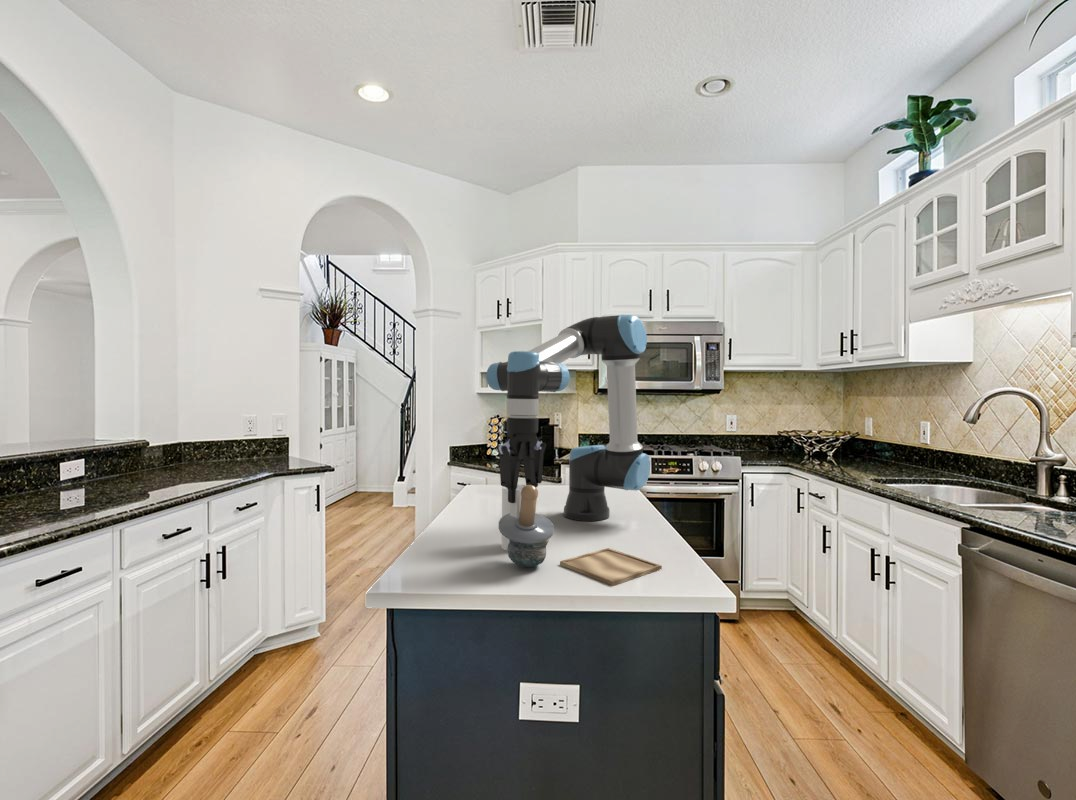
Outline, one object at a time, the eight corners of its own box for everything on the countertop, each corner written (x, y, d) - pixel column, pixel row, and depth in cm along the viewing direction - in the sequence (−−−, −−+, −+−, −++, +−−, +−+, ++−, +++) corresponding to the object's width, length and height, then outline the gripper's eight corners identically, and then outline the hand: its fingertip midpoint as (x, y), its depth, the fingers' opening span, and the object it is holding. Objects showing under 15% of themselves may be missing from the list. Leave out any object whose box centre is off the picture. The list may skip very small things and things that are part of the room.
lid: (531, 510, 136) (535, 470, 133) (564, 534, 127) (569, 491, 124) (487, 522, 129) (491, 479, 125) (519, 549, 119) (524, 503, 116)
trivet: (608, 551, 141) (608, 548, 141) (661, 569, 128) (661, 565, 128) (560, 564, 130) (560, 561, 130) (612, 585, 117) (613, 581, 117)
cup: (528, 553, 139) (529, 491, 138) (498, 550, 140) (498, 489, 140) (535, 543, 147) (536, 485, 146) (506, 541, 148) (506, 483, 148)
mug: (518, 572, 121) (523, 528, 122) (491, 556, 132) (496, 515, 132) (552, 570, 127) (558, 527, 127) (524, 554, 137) (529, 515, 137)
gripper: (538, 415, 136) (537, 507, 137) (485, 416, 126) (483, 516, 126) (558, 416, 130) (557, 513, 131) (504, 418, 120) (502, 523, 121)
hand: (521, 514), depth 129 cm, fingers closed on lid, 3 cm apart
